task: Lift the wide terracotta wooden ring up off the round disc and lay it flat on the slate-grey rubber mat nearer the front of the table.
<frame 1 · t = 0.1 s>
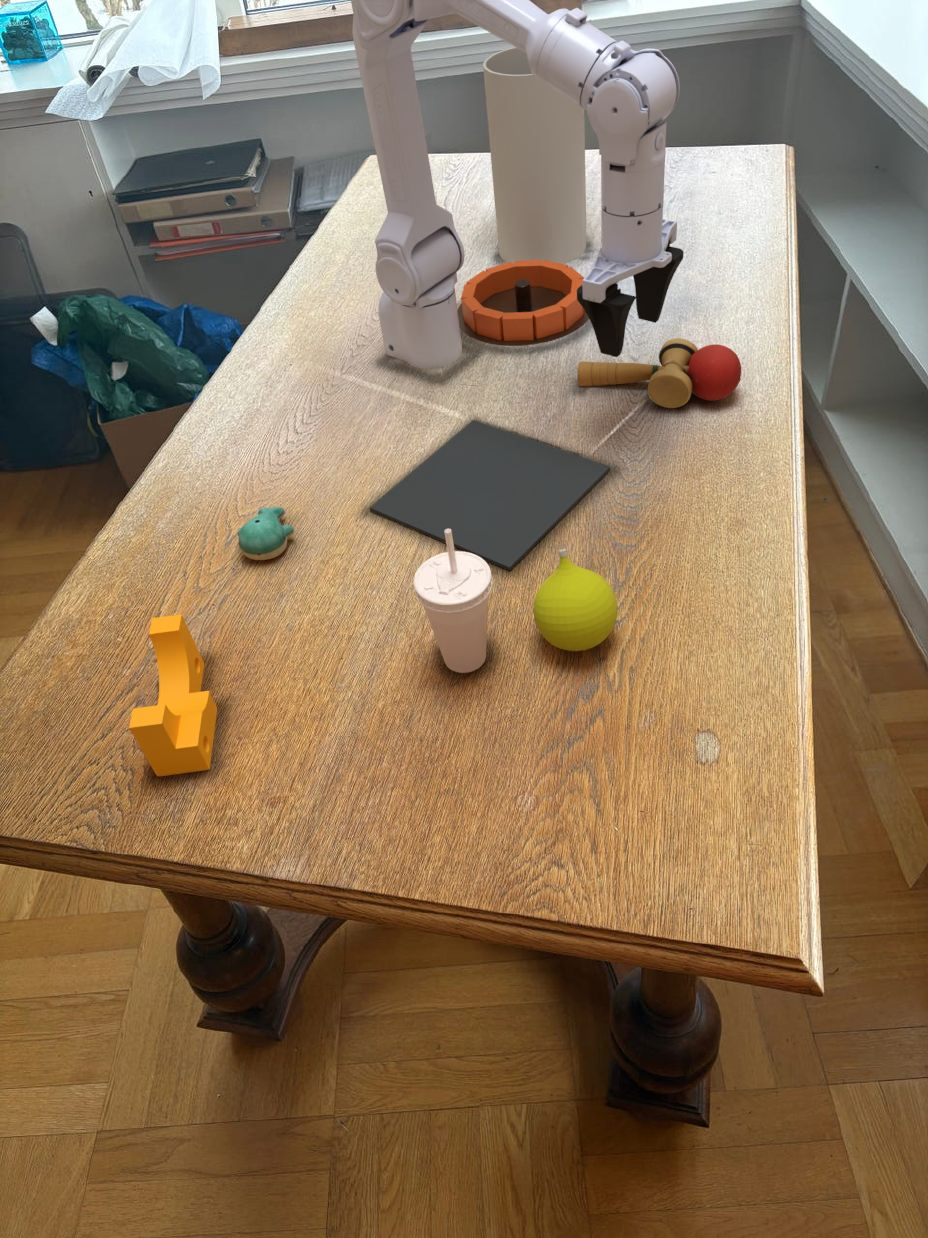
hand: (629, 335, 98), 10 cm above the table, tool pointing down, fingers open, 7 cm apart
ring: (524, 309, 124), point 1 cm above the table, touching round disc
kendama: (656, 394, 108), on the table
whale figurine: (269, 542, 97), on the table
pipe clamp: (192, 717, 82), on the table
mat: (490, 490, 99), on the table
round disc: (524, 315, 124), on the table
cylinder vase: (542, 254, 136), on the table
smoothie: (465, 658, 83), on the table
ornament: (576, 639, 83), on the table
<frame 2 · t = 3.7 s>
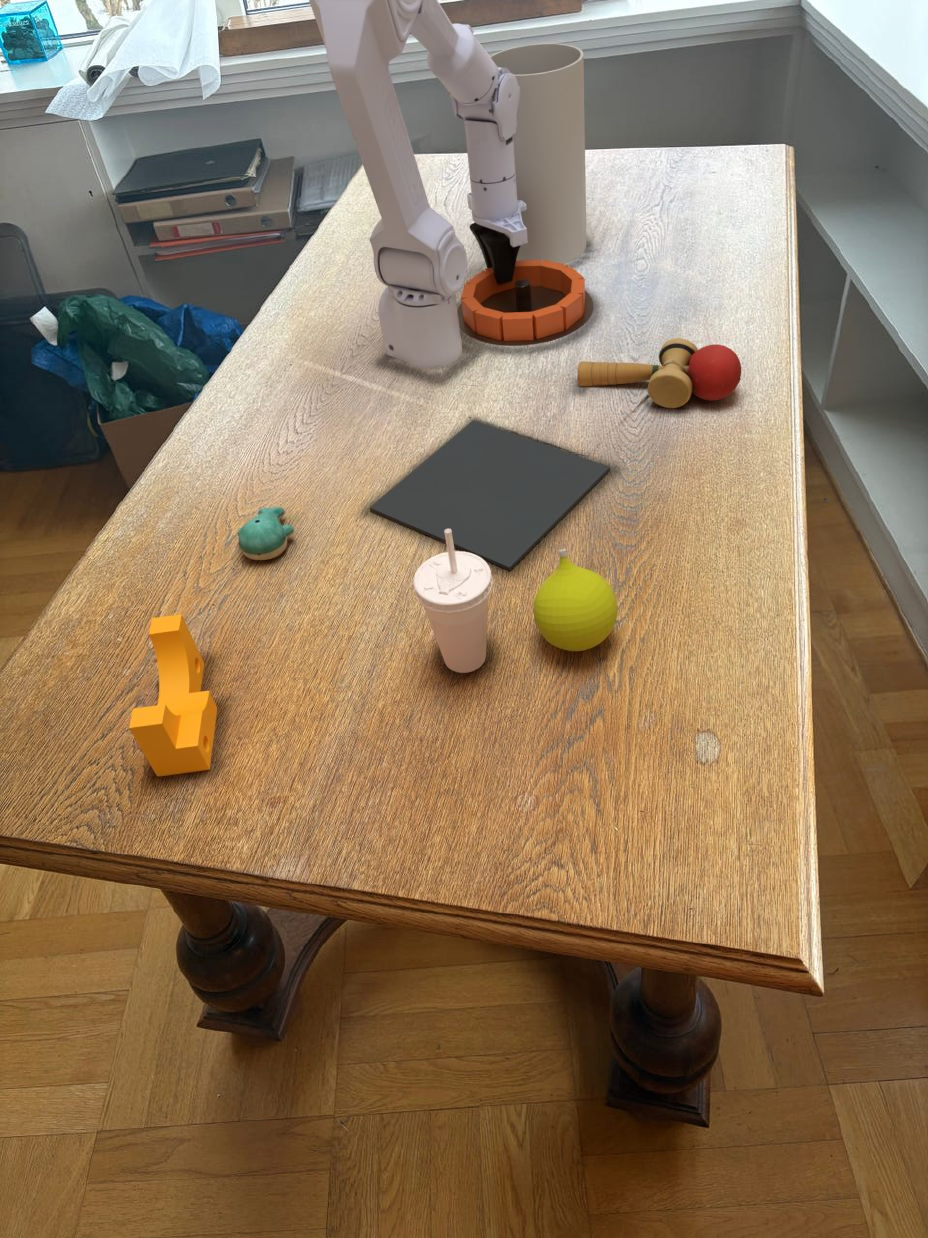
hand: (501, 278, 127), 2 cm above the table, tool pointing down, fingers closed on ring, 2 cm apart
ring: (524, 309, 124), point 1 cm above the table, touching gripper, round disc
everything else where it was.
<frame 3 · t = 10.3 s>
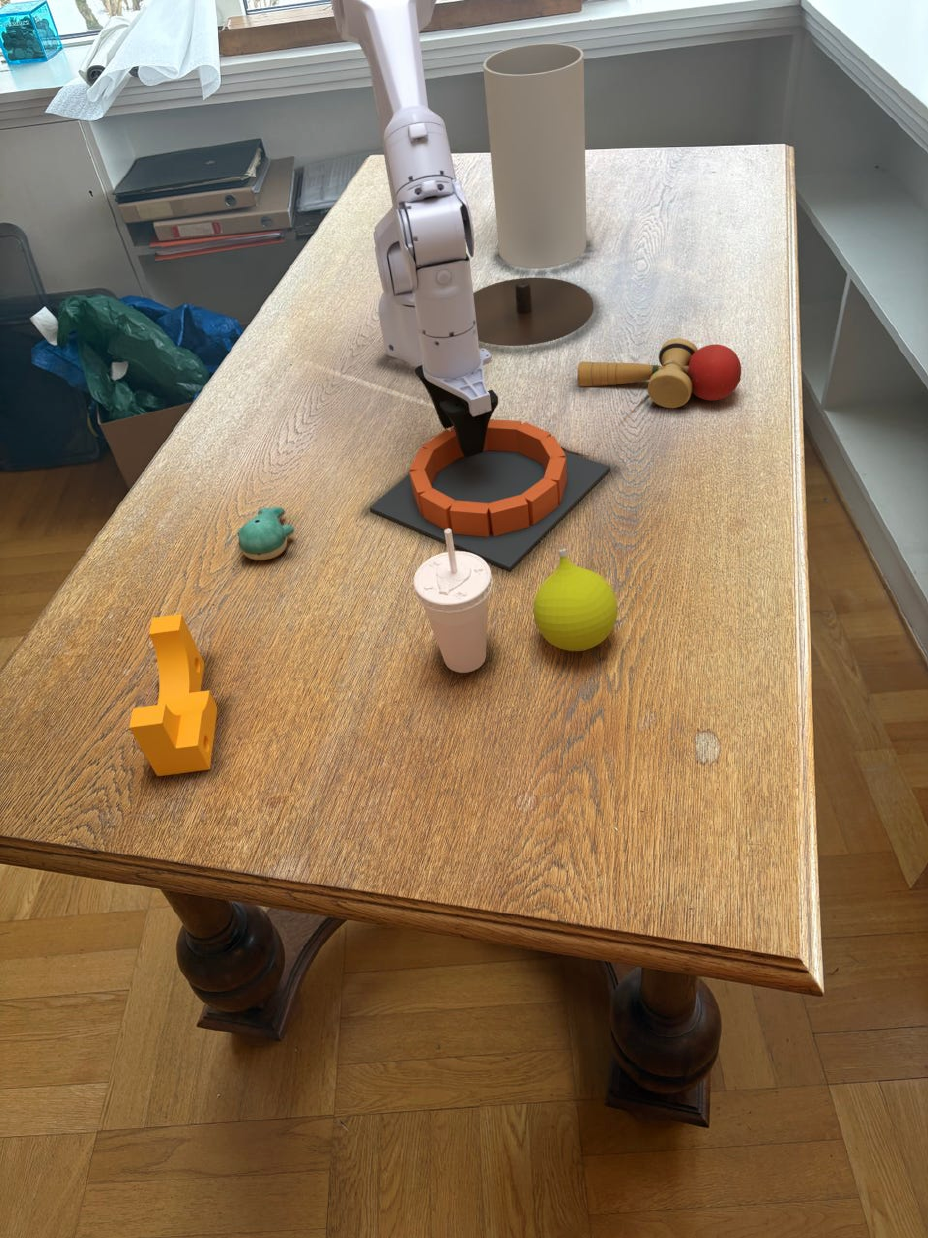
hand: (462, 438, 102), 2 cm above the table, tool pointing down, fingers open, 5 cm apart
ring: (489, 486, 99), resting on mat
everything else where it was.
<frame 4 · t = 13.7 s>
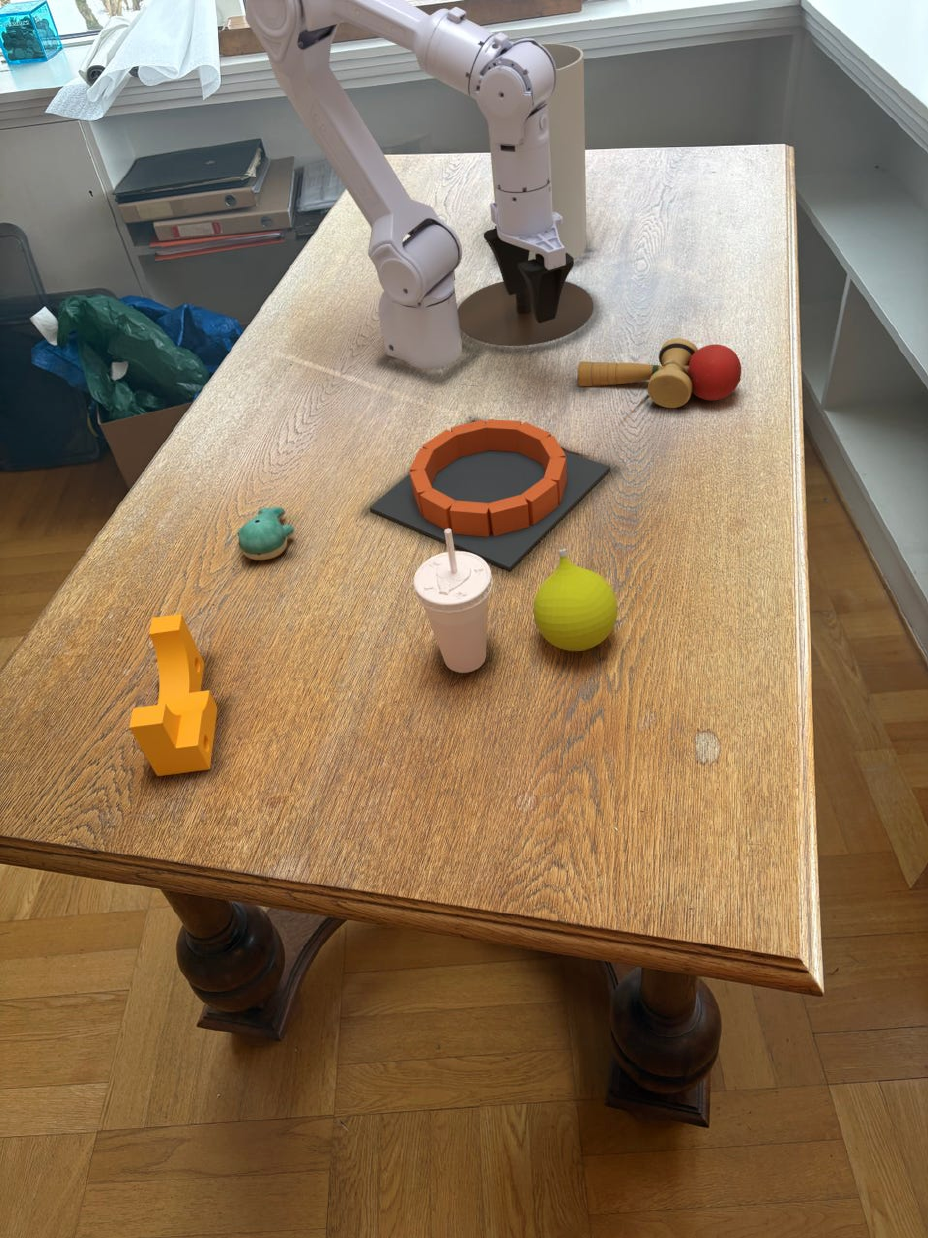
hand: (531, 305, 106), 9 cm above the table, tool pointing down, fingers open, 7 cm apart
nothing on the table moved.
at the end: ring inside the target area on the mat (0.0 cm from its centre), point 0.5 cm above the mat's base; ring tilted 0°; the gripper is holding nothing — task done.
